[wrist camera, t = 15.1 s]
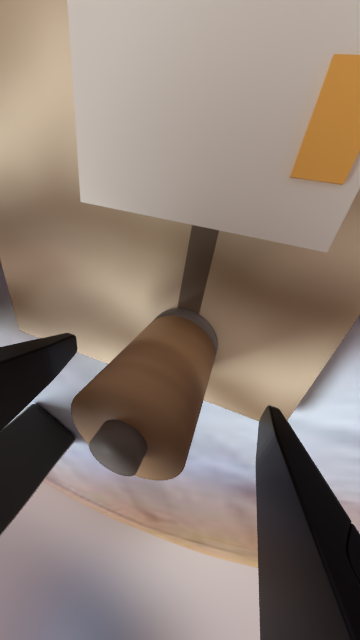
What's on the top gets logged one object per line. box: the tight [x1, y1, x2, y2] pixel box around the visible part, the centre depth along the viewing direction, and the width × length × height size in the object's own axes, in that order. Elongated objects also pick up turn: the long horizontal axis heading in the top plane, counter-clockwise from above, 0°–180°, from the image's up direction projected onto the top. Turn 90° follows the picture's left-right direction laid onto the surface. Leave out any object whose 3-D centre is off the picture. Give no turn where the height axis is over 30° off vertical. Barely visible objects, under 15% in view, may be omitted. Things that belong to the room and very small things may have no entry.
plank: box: [0, 0, 360, 421], centre depth 10 cm, size 17×20×2 cm
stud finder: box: [67, 0, 360, 252], centre depth 6 cm, size 5×8×3 cm, turn 80°
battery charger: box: [0, 404, 75, 536], centre depth 20 cm, size 7×4×11 cm, turn 49°
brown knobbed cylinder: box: [71, 308, 218, 480], centre depth 8 cm, size 4×4×7 cm
